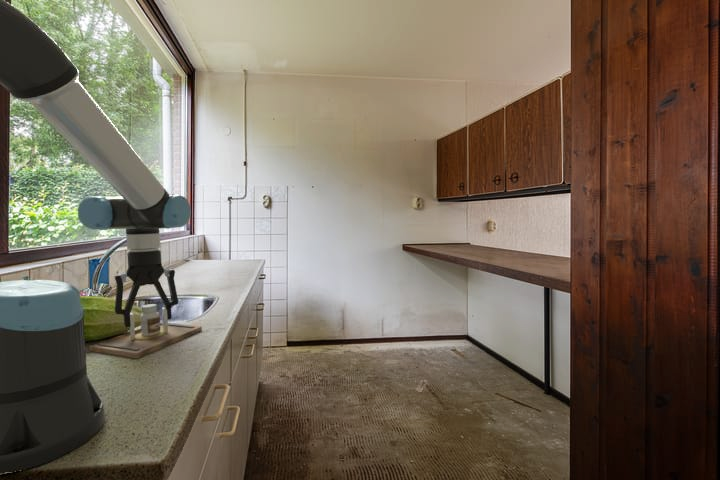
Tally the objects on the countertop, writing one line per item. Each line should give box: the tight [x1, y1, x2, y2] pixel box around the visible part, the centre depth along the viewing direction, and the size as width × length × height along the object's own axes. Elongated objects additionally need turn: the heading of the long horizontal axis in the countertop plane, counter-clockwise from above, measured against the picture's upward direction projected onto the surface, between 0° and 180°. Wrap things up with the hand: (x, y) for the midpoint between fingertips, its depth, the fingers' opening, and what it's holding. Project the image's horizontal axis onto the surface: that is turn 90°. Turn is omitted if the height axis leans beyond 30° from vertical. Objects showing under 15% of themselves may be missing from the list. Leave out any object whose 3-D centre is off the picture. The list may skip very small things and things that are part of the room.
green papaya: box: [80, 295, 143, 342], centre depth 94 cm, size 13×22×14 cm
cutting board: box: [89, 321, 203, 359], centre depth 92 cm, size 20×16×2 cm
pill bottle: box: [140, 303, 161, 336], centre depth 92 cm, size 4×4×8 cm
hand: (149, 334), depth 91 cm, fingers closed on cutting board, 7 cm apart
